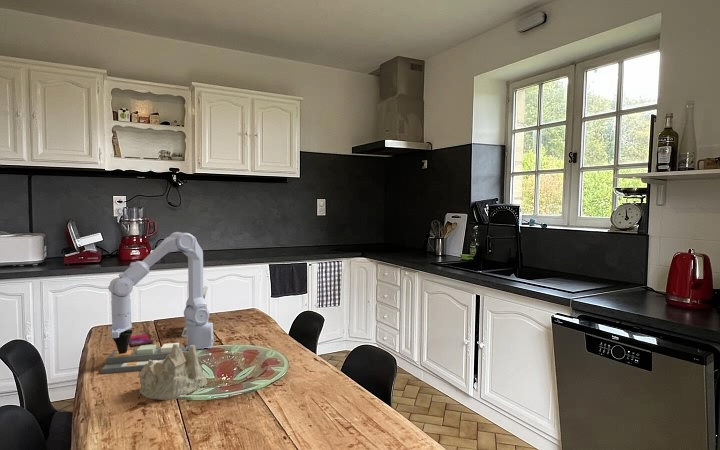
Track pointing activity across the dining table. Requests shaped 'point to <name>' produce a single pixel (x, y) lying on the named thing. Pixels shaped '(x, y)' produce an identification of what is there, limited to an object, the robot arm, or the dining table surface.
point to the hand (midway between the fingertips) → (122, 353)
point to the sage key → (146, 349)
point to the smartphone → (140, 340)
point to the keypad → (133, 361)
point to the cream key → (167, 347)
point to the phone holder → (186, 319)
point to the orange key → (123, 353)
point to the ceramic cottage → (172, 375)
